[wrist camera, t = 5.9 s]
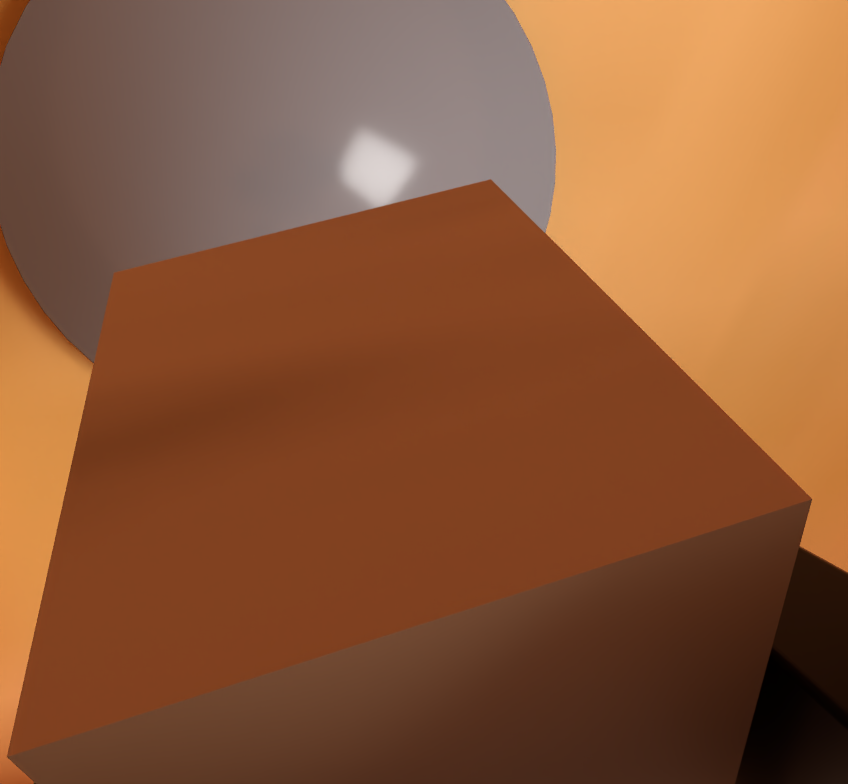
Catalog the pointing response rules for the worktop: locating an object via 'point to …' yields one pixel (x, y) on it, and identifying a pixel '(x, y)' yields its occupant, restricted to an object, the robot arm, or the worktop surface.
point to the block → (400, 525)
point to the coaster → (248, 127)
